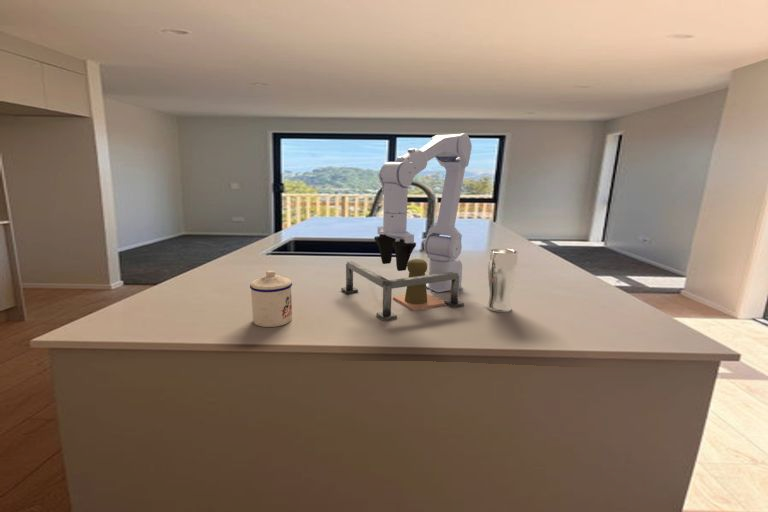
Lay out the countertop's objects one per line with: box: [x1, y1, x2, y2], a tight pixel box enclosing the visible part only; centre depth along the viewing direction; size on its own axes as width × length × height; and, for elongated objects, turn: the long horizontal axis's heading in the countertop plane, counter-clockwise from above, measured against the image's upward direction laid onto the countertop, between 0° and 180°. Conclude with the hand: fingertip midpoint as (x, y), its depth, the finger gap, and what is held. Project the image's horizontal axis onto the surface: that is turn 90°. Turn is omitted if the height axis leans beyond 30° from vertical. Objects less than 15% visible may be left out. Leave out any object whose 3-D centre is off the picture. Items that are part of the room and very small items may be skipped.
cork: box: [404, 258, 428, 304], centre depth 103 cm, size 6×6×11 cm
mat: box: [392, 293, 446, 312], centre depth 104 cm, size 10×10×1 cm
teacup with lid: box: [249, 269, 293, 328], centre depth 90 cm, size 12×9×12 cm
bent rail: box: [340, 260, 465, 322], centre depth 106 cm, size 24×26×9 cm
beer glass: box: [486, 248, 519, 313], centre depth 99 cm, size 7×7×15 cm
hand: (393, 266), depth 98 cm, fingers open, 7 cm apart
